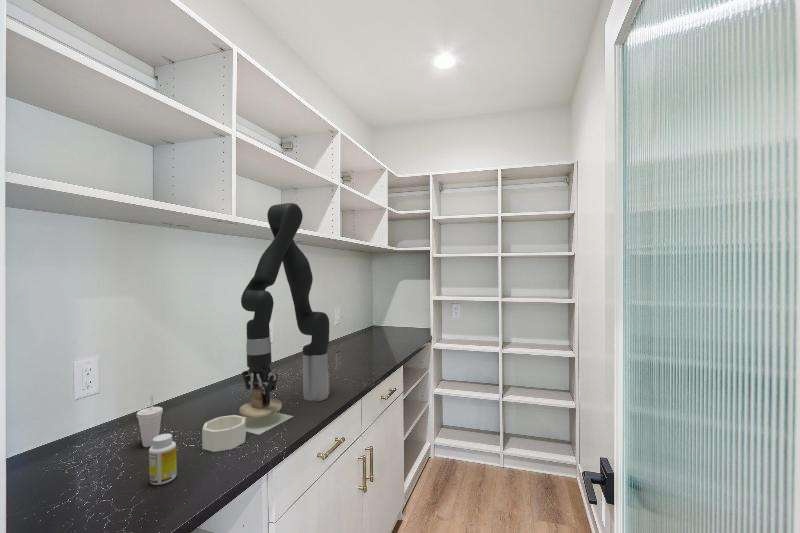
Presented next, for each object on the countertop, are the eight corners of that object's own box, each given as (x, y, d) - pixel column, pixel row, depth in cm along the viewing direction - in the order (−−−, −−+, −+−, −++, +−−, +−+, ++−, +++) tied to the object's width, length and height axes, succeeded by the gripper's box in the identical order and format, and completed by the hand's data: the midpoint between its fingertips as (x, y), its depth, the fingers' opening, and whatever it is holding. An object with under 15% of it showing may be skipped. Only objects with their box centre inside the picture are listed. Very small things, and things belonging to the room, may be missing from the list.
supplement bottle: (180, 472, 94) (179, 431, 94) (171, 484, 89) (170, 441, 89) (155, 474, 93) (155, 433, 93) (144, 487, 88) (144, 443, 88)
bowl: (227, 432, 116) (227, 413, 116) (253, 439, 111) (253, 419, 111) (194, 448, 106) (194, 427, 106) (221, 456, 101) (221, 434, 101)
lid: (261, 399, 132) (260, 379, 132) (290, 404, 127) (289, 384, 126) (230, 413, 121) (229, 391, 120) (260, 420, 115) (259, 397, 115)
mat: (260, 411, 133) (260, 409, 133) (293, 417, 127) (293, 416, 127) (224, 427, 120) (224, 425, 120) (259, 436, 113) (259, 434, 113)
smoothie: (168, 441, 111) (167, 394, 111) (144, 451, 105) (143, 401, 105) (156, 437, 114) (155, 390, 114) (132, 446, 108) (131, 397, 108)
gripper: (283, 350, 123) (285, 402, 124) (252, 346, 130) (254, 396, 130) (266, 355, 117) (268, 411, 117) (233, 352, 123) (235, 404, 123)
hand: (260, 403), depth 123 cm, fingers closed on lid, 4 cm apart
